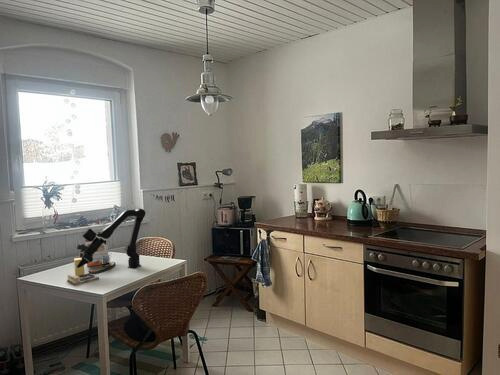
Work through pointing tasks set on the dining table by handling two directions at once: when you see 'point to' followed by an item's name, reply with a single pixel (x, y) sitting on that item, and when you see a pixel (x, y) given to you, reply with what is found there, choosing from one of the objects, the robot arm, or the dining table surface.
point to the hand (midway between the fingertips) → (76, 266)
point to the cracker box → (98, 253)
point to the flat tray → (81, 278)
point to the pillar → (79, 270)
